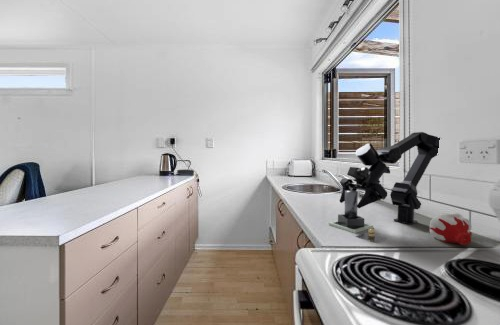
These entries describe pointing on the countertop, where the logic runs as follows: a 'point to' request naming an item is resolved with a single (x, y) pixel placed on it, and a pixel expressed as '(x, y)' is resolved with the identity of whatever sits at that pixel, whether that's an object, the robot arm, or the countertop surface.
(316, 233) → the countertop surface
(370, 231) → the base
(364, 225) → the tray
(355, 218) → the grey cylinder in socket
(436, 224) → the white red flame ovoid
